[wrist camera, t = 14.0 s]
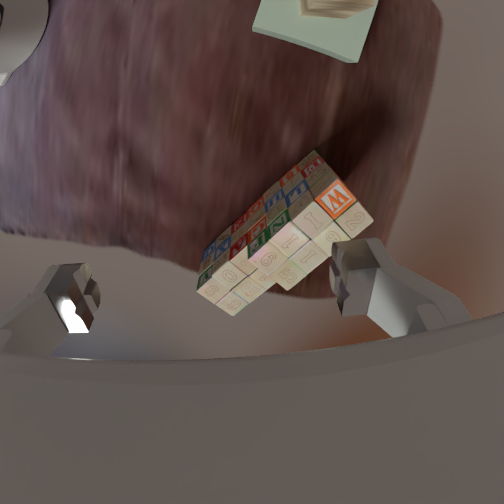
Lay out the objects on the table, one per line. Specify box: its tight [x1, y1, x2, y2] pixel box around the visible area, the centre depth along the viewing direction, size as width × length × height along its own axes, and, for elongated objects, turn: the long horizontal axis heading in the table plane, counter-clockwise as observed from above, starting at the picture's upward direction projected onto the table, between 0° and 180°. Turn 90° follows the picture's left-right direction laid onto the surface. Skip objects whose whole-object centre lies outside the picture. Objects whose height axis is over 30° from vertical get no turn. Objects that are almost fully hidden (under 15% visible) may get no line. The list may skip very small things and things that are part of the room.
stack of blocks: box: [197, 150, 373, 316], centre depth 39 cm, size 21×6×12 cm, turn 135°
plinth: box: [252, 0, 378, 63], centre depth 27 cm, size 12×12×4 cm
